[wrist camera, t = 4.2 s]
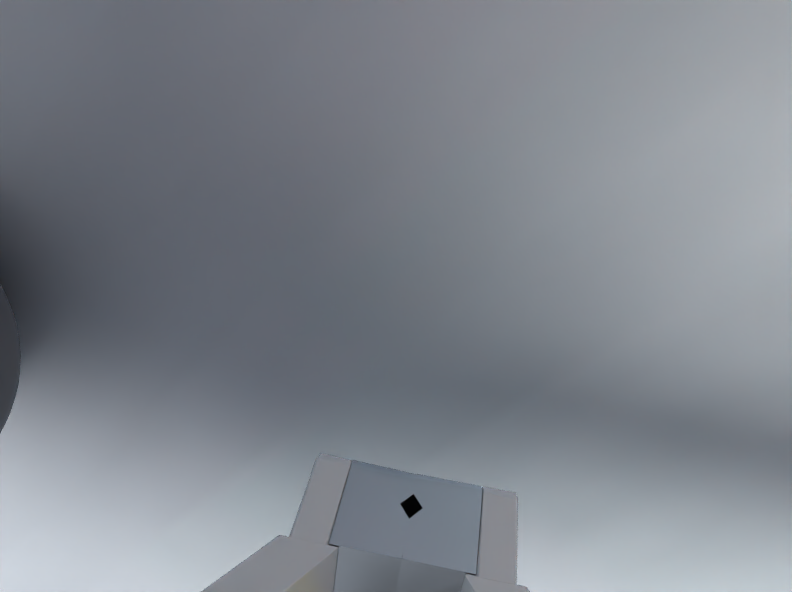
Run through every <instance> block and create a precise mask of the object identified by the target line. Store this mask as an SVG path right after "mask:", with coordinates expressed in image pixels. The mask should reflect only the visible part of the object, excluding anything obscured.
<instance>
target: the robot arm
mask: <svg viewBox="0 0 792 592" xmlns="http://www.w3.org/2000/svg"><path fill="white" fill-rule="evenodd" d="M517 531H518V497H517V495H516V493H515V492H510V491H505V490H499V489H494V488H489V487H484V486H483V487H481V486H478V485H473V484H468V483H463V482H457V481H452V480H447V479H442V478H436V477H431V476H426V475H421V474H413V473H409V472H404V471H400V470H396V469H391V468H387V467H382V466H378V465H374V464H369V463H365V462H360V461H356V460H348V459H344V458H340V457H335V456H331V455H327V454H322V453H320V455H319V456H318V458H317V459H316V461H315V463H314V466H313V469H312V472H311V475H310V478H309V481H308V484H307V487H306V489H305V492H304V495H303V498H302V501H301V504H300V507H299V510H298V512H297V515H296V518H295V521H294V524H293V527H292V530H291V533H290V535H289V537H287V536H282V535H279V536H277V537H276V538H274V539H273V540H272V541H270V542H269V543H268V544H266V545H265V546H263V547H262V548H261V549H259V550H258V551H256V552H255V553H254V554H252V555H251V556H250V557H248V558H247V559H245V560H244V561H243V562H241V563H240V564H238V565H237V566H236V567H234V568H233V569H232V570H230V571H229V572H227V573H226V574H225V575H223V576H222V577H220V578H219V579H218V580H216V581H215V582H214V583H212V584H211V585H209V586H208V587H207V588H205V589H204V590H202V591H201V592H530V591H529V590H528V588H527V587H525V586H521V585H517Z"/></svg>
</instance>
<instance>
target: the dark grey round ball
mask: <svg viewBox="0 0 792 592" xmlns="http://www.w3.org/2000/svg"><path fill="white" fill-rule="evenodd" d="M20 363H21V353H20V342H19V334H18V328H17V324H16V320H15V316H14V314H13V311H12V308H11V306H10V303H9V301H8V298H7V296H6V294H5V292H4V290H3V288H2V286H1V285H0V433H1V431H2V429H3V427H4V425H5V423H6V421H7V419H8V416H9V414H10V412H11V409H12V406H13V403H14V399H15V396H16V392H17V388H18V383H19V375H20Z"/></svg>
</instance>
